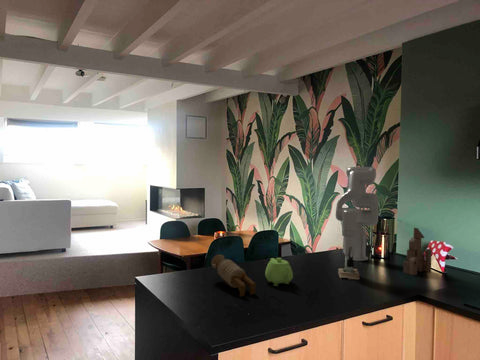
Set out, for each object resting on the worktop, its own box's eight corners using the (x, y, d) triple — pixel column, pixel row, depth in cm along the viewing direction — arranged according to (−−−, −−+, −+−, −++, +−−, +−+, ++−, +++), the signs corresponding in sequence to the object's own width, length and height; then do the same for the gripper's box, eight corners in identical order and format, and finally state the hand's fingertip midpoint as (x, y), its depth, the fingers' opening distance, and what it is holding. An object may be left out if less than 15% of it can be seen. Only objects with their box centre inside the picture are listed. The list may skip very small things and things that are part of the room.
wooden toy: (413, 275, 216) (414, 230, 215) (403, 272, 222) (404, 228, 221) (432, 272, 223) (433, 228, 222) (422, 269, 229) (423, 226, 228)
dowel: (344, 275, 216) (344, 253, 215) (351, 275, 215) (352, 253, 215) (345, 277, 212) (345, 255, 211) (353, 277, 211) (353, 255, 211)
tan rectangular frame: (338, 273, 219) (338, 268, 219) (356, 274, 218) (356, 268, 218) (340, 278, 209) (340, 272, 209) (359, 279, 208) (359, 273, 208)
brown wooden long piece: (255, 301, 184) (225, 273, 209) (258, 277, 182) (227, 251, 207) (237, 305, 179) (208, 276, 204) (240, 280, 177) (210, 253, 202)
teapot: (300, 287, 194) (300, 261, 193) (275, 290, 189) (275, 264, 189) (282, 276, 213) (282, 253, 212) (259, 278, 208) (259, 254, 208)
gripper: (340, 230, 222) (339, 260, 222) (344, 235, 204) (344, 268, 205) (353, 230, 221) (353, 260, 222) (359, 236, 204) (358, 269, 204)
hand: (348, 264), depth 213 cm, fingers open, 9 cm apart
